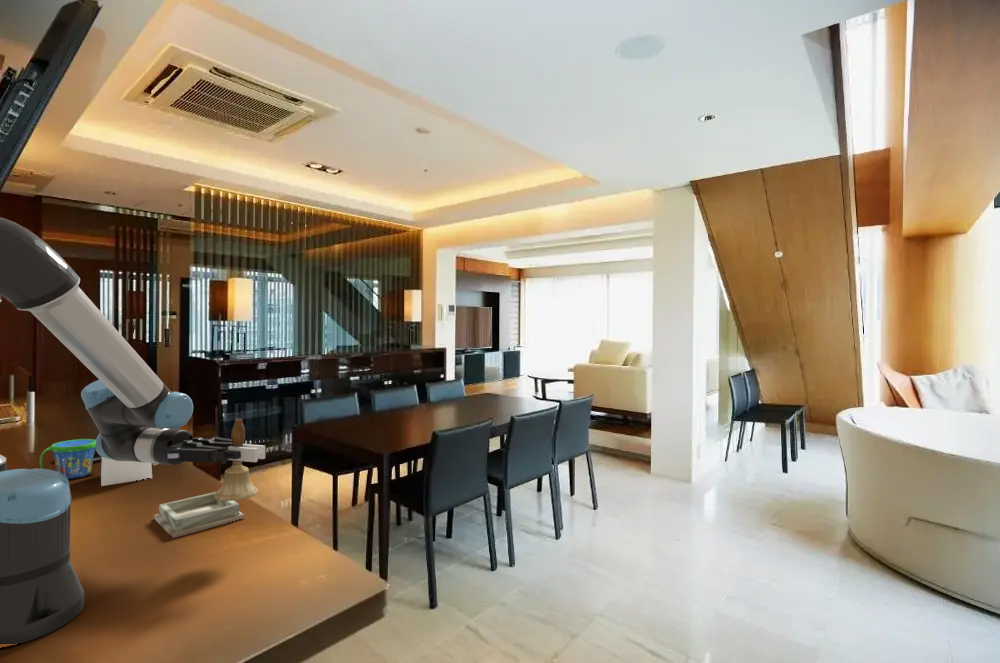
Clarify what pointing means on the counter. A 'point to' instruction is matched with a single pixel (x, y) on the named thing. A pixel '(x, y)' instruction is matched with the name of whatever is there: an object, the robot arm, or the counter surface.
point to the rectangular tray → (196, 514)
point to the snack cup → (72, 457)
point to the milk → (123, 471)
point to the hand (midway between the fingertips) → (260, 453)
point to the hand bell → (236, 472)
